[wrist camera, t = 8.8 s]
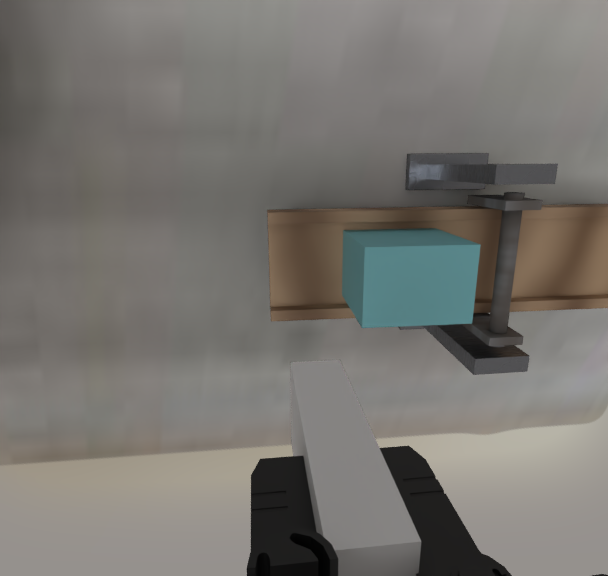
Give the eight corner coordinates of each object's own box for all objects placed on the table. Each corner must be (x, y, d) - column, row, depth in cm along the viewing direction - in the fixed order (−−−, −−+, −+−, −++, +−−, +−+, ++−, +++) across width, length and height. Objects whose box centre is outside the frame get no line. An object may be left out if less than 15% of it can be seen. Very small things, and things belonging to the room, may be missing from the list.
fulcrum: (397, 326, 42) (452, 387, 30) (407, 153, 37) (474, 149, 26) (466, 323, 43) (544, 381, 31) (483, 153, 38) (582, 148, 27)
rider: (341, 295, 33) (362, 328, 26) (343, 230, 32) (364, 247, 25) (430, 292, 34) (472, 323, 27) (435, 228, 32) (480, 244, 26)
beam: (269, 307, 39) (272, 361, 28) (266, 188, 36) (267, 197, 26) (599, 295, 42) (716, 340, 31) (620, 183, 39) (757, 190, 28)
